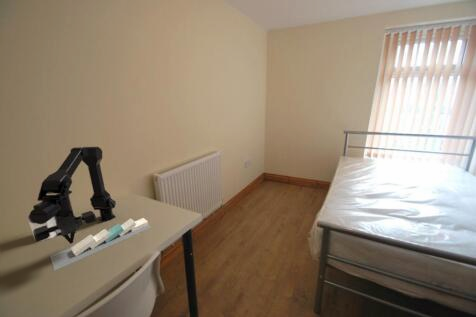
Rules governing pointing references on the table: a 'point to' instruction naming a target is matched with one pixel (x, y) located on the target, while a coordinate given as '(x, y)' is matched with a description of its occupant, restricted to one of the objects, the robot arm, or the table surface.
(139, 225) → the domino
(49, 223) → the jar
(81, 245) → the domino
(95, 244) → the domino
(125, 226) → the domino
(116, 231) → the domino
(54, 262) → the runner mat
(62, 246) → the table surface
